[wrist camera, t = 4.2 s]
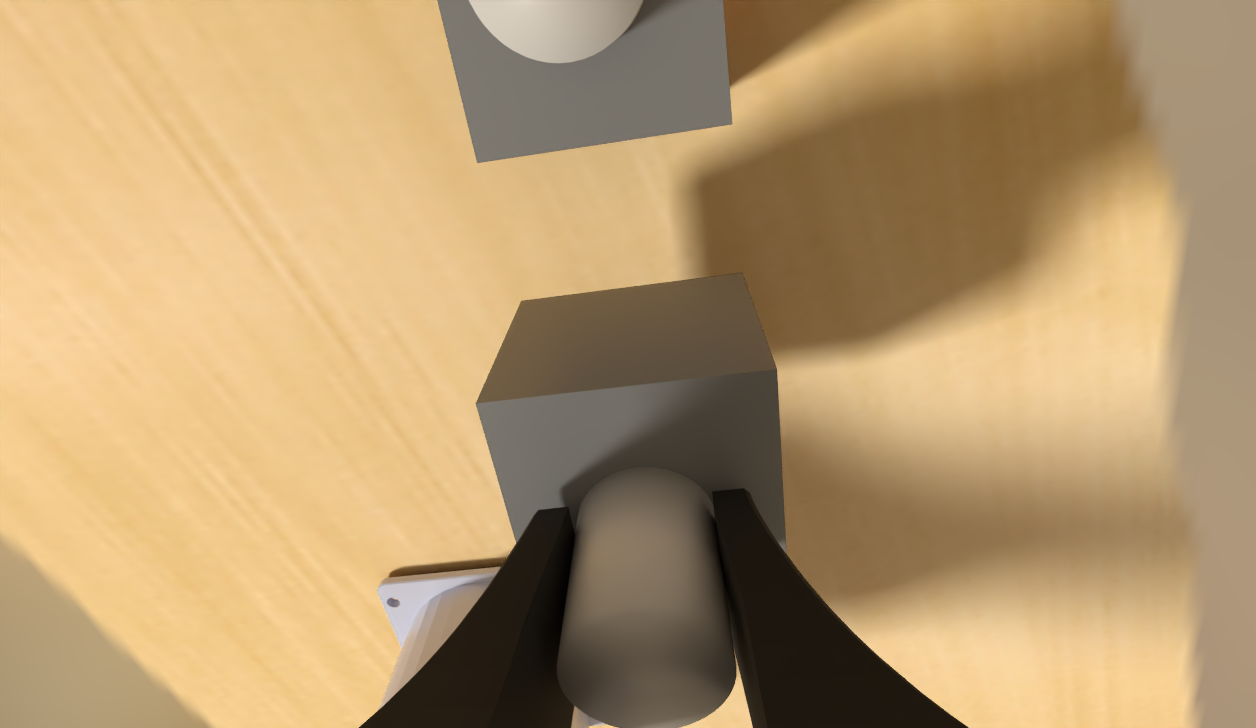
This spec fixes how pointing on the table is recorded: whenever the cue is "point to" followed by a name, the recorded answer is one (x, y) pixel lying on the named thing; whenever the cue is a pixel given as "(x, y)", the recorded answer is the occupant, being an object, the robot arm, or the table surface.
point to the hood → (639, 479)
